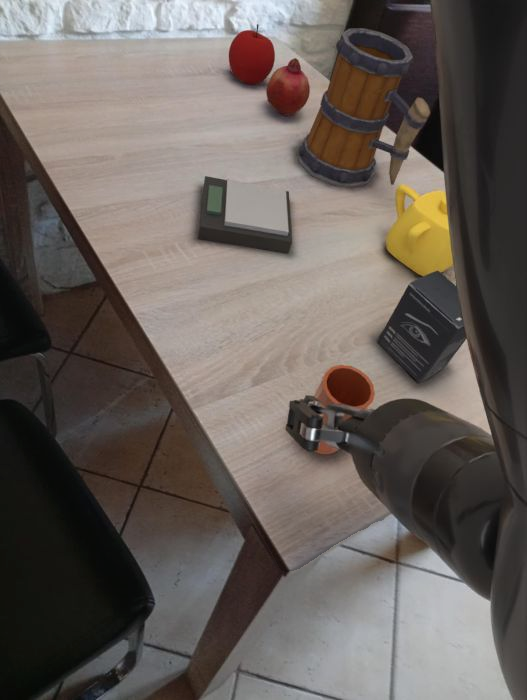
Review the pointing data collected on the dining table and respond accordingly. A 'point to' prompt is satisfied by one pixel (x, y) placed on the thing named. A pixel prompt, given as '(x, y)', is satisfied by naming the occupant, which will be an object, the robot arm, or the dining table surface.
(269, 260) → the dining table surface
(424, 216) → the teapot
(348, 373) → the cup
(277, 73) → the fruit
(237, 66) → the apple
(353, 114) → the mug
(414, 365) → the box
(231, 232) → the scale
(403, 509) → the robot arm
